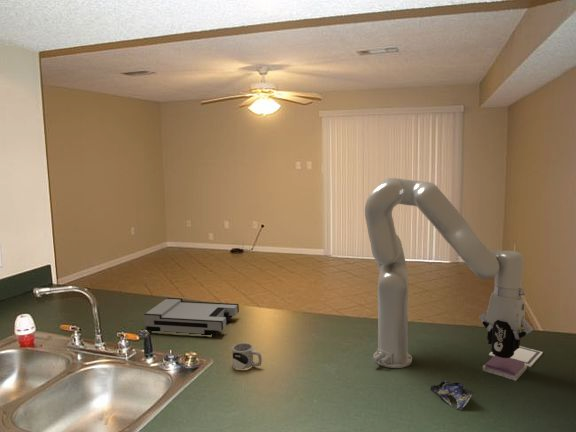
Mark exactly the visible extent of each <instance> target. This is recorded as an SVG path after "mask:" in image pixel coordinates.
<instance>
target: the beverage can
mask: <svg viewBox="0 0 576 432" xmlns="http://www.w3.org/2000/svg"><path fill="white" fill-rule="evenodd" d="M514 338H515V336H514V333H513V330H512V329H511V326H510V325H509V324H508V321H503V320H500V319H497V321H495V322H494V325H493V331H492V344H490V351H491V352H493V354H494V355H496V356H498V357H501V358H510V357H512V356H513V355H514V351H513V350H512V346H513V339H514Z"/></svg>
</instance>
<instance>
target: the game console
mask: <svg viewBox="0 0 576 432" xmlns="http://www.w3.org/2000/svg"><path fill="white" fill-rule="evenodd" d="M239 307H240V305H239V303H228V302H227V303H226V302H225V303H224V302H209V301H208V302H207V301H206V302H205V301H203V302H202V301H189V300H188V301H187V300H186V301H185V300H183V298H182V297H180V298H177V297H167V298H166V299H164V300H162V301H161V302H159V303H158V304H156V306H154V307H152V308H151V309H150V310H148V311H146V312H145V313H143V315H142V317H143V326H144V327H145V328H146V330H147V331H150V332H151V331H164V332H176V333H189V334H201V335H211V334H213V335H218V333H219V332H220V331H223V330H224V329H225V328H226V326H227V322H229V321H230V320H231V319H232V318H233V317H235V316H236V315H237V314H238V313H239V311H240V308H239Z"/></svg>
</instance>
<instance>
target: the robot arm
mask: <svg viewBox="0 0 576 432" xmlns="http://www.w3.org/2000/svg"><path fill="white" fill-rule="evenodd" d="M398 205H404V206H412V207H413V206H414V207H417V208H418V209H419V210H420V212H421V213H422V214H423V215H424V216H425V217H426V219H427V220H428V221H429V222H430V223H431V224H432V226H433V227H434V229H436V230H437V231H438V233H439V235H441V237H442V238H443V239H444V240H445V242H447V243H448V244H449V246H450V247H452V249H453V250H454V251H455V252H456V253H457V254H458V256H459V257H460V259H461V260H462V261H463V262H464V263H465V264H466V265H467V267H468V268H469V269H470V270H471V272H472V273H474V275H475V276H477V277H479V278H480V279H483V280H489V279H492V278H494V287H493V291H492V292H491V295H490V297H489V302H488V306H487V311H484V313H482V314H480V315H479V316H478V318H479V320H480V322H481V323H482V326H484V328H485V329H486V331H487V335H486V336H487V338H486V339H487V340H488V343H487V344H488V345H491V344H492V331H493V325H494V322H495V321H497V319H500V320H503V321H508V324H509V325H510V326H511V329H512V330H513V333H514V336H515V338H514V339H513V346H512V350H513V351H516V350H517V349H519V347H520V346H521V339H522V338H523V337H525V336H526V335H528V334H530V333H531V332H533V330H534V328H533V327H532V326H531V325H530V324H529V323H528V321H527V320H526V306H525V299H524V297H523V296H525V297H526V296H527V291H526V290H523V287H522V285H523V275H524V274H523V273H524V263H525V262H524V261H525V258H524V255H523V253H521V252H518V251H516V250H497V249H496V250H495V249H491V248H487V246H486V245H485V244H484V243H483V242H482V241H481V238H479V237H478V236H477V234H476V233H475V232H474V230H473V228H472V227H471V225H470V224H469V222H468V221H467V220H466V219H465V217H464V216H463V215H462V214H461V213H460V212H459V211H458V209H457V208H456V207H455V206H454V205H453V204H452V202H451V201H450V200H449V199H448V198H447V197H446V195H445V193H444V192H442V191H441V190H440V188H439V186H437V185H436V184H435V183H433V182H431V181H419V180H414V179H413V180H412V179H406V178H405V179H403V178H396V177H388V178H386V179H384V180H383V181H381V182H380V183H379V184H378V185H377V186H376V187H375V188H374V189H373V191H371V192H370V194H369V196H368V197H367V199H366V201H365V204H364V216H365V217H364V218H365V222H366V223H365V224H366V227H367V234H368V238H369V242H370V248H371V250H370V251H371V254H372V257H373V258H374V260H375V261H376V265H377V268H378V273H379V275H378V279H377V317H378V318H377V321H378V322H377V325H378V326H377V328H378V329H377V345H378V346H377V350H376V351H375V352H374V353H373V357H371V358H370V359H371V362H372V363H373V364H378V365H379V366H382V367H385V368H389V369H400V368H401V369H403V368H406V367H408V366H410V365H411V364H412V363H413V357H412V355H411V354H410V353H409V352H408V339H409V337H408V332H409V331H408V330H409V328H408V326H409V325H408V324H409V323H408V322H409V321H408V319H409V317H408V314H409V313H408V312H409V311H408V310H409V271H408V267H407V263H406V259H405V253H404V249H403V244H402V241H401V239H400V237H399V235H398V234H397V232H396V229H395V222H394V219H393V210H394V208H395V207H396V206H398ZM522 327H523V328H524V330H521V328H522Z"/></svg>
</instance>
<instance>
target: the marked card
mask: <svg viewBox="0 0 576 432" xmlns="http://www.w3.org/2000/svg"><path fill="white" fill-rule="evenodd" d="M543 353H544V351H540V350H536V349H532V348H528V347H525V346H521V345H520V347H519V349H517V350H516V351H514V355H513V356H512V357H510V359H513V360H517V361H521V362H524V363H525V364H524V365H527V367H529V368H531V367H532V366H533V365H534V364H535V363H536V362H537V361H538V359H540V357H541V356H542V355H543ZM488 356H491V357H494V356H495V355H494V354H493V352H492V351H491V352H489V353H488Z"/></svg>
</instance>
